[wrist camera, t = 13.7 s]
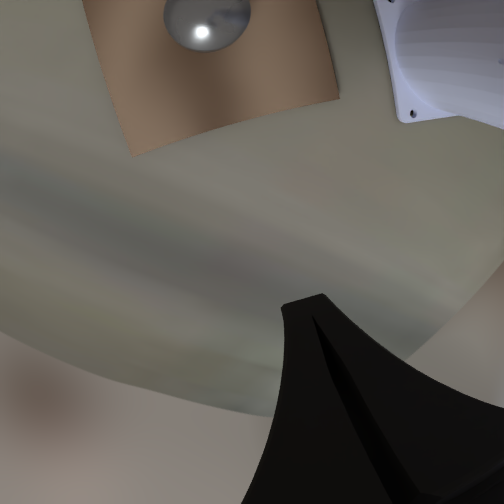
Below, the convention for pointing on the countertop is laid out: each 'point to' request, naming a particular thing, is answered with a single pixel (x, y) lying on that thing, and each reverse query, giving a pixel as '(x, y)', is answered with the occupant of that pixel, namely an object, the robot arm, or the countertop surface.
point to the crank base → (207, 69)
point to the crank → (206, 23)
